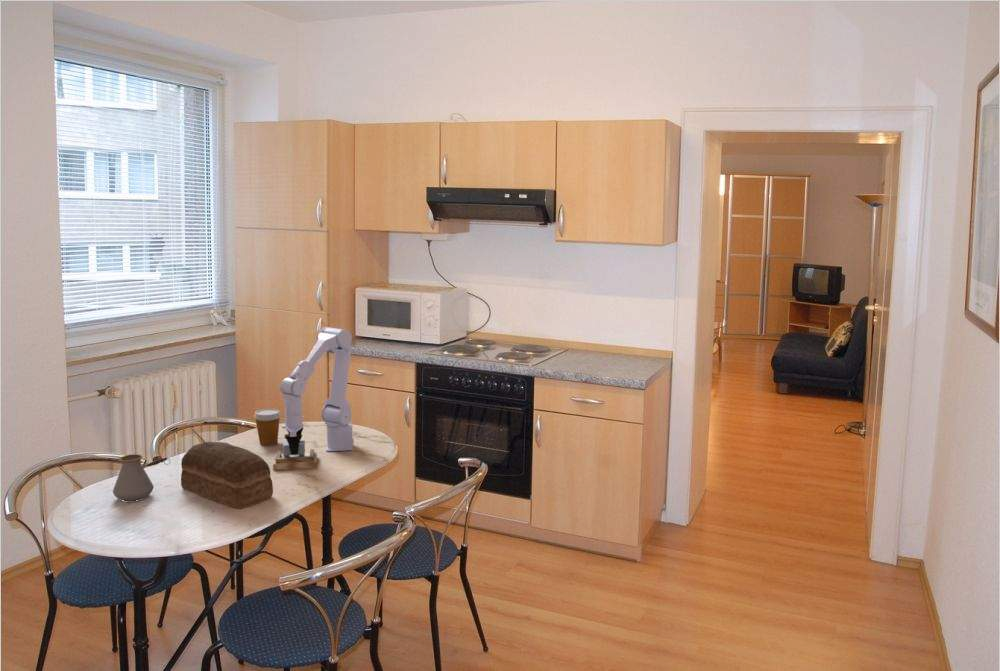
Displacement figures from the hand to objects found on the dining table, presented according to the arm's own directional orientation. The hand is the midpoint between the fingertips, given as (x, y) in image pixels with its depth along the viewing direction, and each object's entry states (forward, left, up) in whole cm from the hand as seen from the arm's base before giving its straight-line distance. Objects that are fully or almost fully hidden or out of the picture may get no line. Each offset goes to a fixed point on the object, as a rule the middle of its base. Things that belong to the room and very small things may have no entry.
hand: (295, 451), depth 293 cm
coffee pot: (+43, +27, -5) cm, 51 cm away
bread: (+20, +25, -5) cm, 32 cm away
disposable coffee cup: (+11, -25, -5) cm, 28 cm away
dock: (0, 0, -4) cm, 4 cm away
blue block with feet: (0, 0, -2) cm, 2 cm away
